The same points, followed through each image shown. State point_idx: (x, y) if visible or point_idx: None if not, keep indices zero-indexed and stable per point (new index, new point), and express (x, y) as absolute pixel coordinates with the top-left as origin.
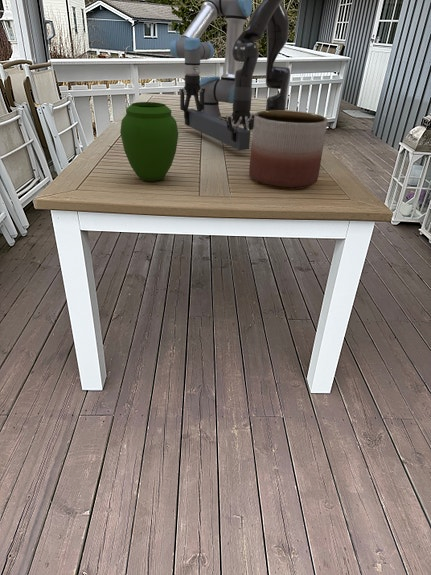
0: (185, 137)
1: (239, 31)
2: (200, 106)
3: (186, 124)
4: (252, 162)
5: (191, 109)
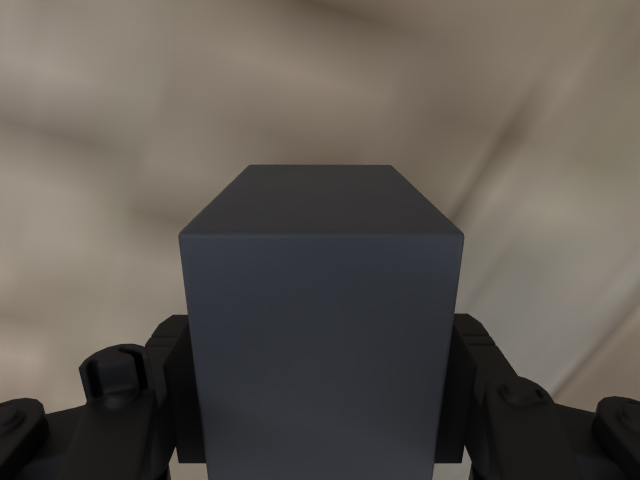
0: None
1: None
2: (624, 465)
3: None
4: None
5: (359, 326)
